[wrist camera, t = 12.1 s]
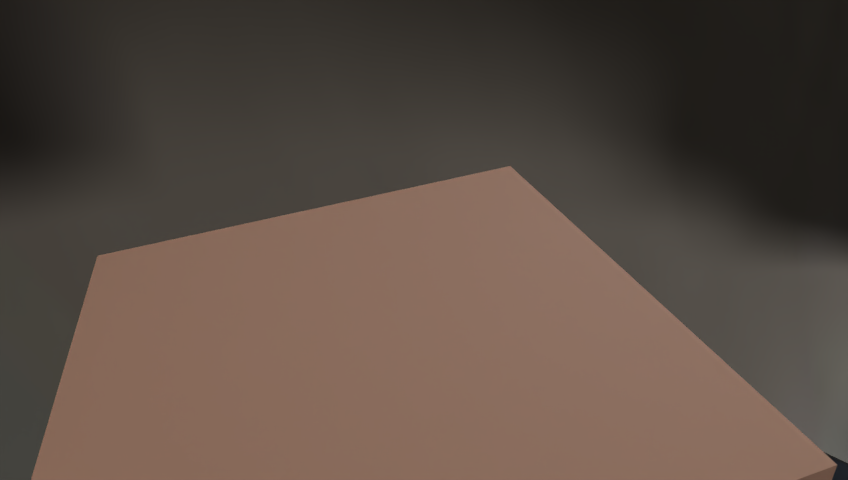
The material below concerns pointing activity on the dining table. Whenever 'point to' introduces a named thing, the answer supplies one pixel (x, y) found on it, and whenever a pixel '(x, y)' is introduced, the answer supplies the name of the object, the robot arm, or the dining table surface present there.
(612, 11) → the dining table surface
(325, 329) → the peach block
